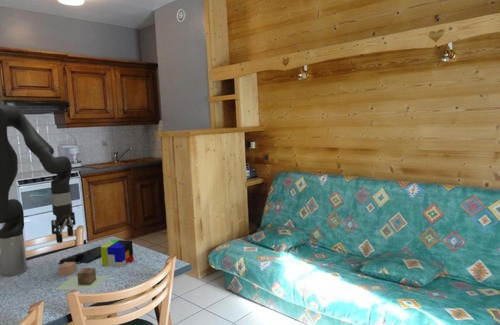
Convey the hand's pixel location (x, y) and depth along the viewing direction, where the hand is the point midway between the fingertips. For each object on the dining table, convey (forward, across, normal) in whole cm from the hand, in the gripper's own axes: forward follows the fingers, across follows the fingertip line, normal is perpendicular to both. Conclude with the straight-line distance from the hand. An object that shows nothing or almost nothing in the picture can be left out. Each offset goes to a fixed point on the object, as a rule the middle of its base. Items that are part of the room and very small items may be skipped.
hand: (65, 239), depth 155 cm
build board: (+16, +10, +12) cm, 23 cm away
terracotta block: (+16, 0, 0) cm, 16 cm away
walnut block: (+15, +10, +14) cm, 23 cm away
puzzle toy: (+16, -11, +18) cm, 27 cm away
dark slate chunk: (+17, -19, -2) cm, 26 cm away
